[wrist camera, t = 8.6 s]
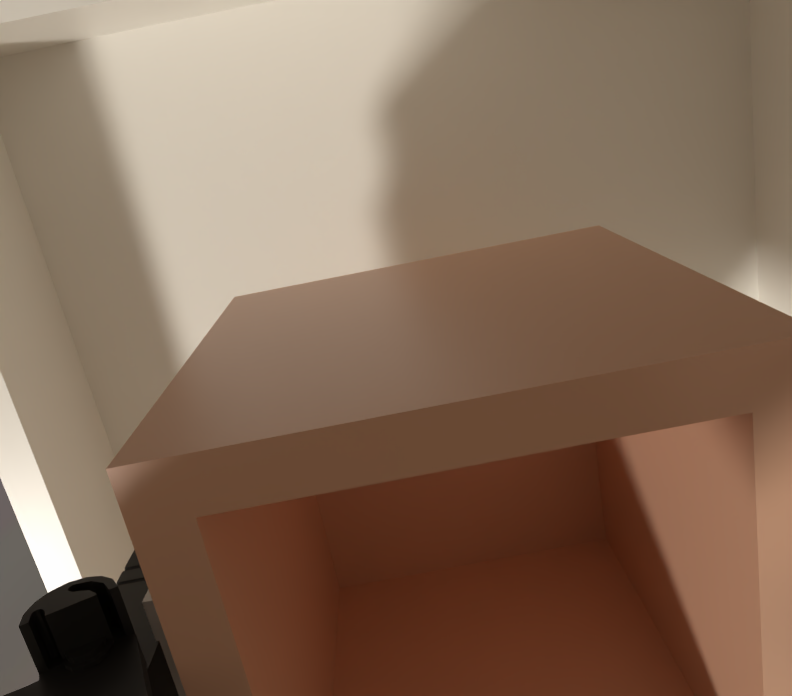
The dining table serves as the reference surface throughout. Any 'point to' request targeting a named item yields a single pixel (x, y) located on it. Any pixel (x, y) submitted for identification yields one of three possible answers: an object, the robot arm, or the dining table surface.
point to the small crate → (476, 483)
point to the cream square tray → (337, 181)
